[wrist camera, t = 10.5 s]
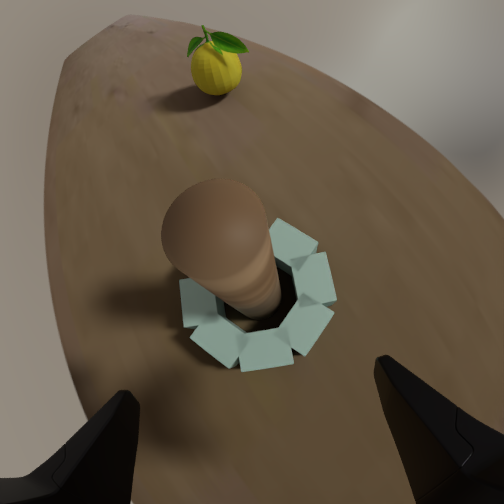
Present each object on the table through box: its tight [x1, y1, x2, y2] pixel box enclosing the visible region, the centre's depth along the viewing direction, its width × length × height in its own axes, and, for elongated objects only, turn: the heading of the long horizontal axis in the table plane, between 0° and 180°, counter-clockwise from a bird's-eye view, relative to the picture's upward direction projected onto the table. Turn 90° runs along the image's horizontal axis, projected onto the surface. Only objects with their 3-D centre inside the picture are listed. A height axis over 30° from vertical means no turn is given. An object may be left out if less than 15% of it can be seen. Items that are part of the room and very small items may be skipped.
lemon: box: [187, 25, 249, 95], centre depth 24 cm, size 7×6×10 cm
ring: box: [179, 217, 337, 372], centre depth 19 cm, size 10×10×2 cm
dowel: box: [161, 179, 282, 320], centre depth 15 cm, size 3×3×13 cm
